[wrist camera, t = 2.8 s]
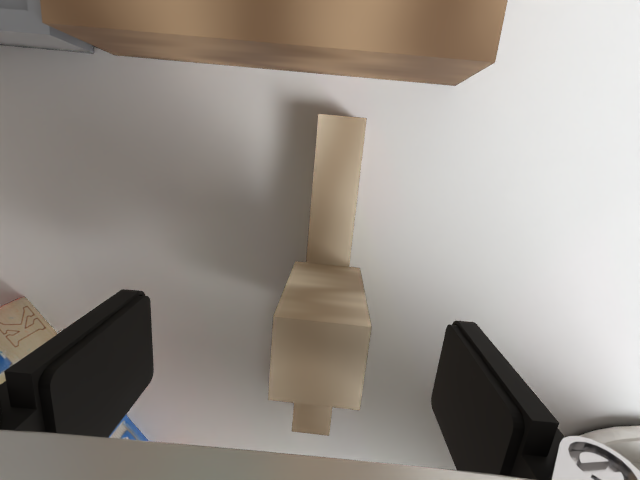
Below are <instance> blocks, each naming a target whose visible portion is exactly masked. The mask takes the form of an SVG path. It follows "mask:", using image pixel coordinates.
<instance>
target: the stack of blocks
mask: <svg viewBox="0 0 640 480" xmlns="http://www.w3.org/2000/svg"><path fill="white" fill-rule="evenodd" d="M56 335H57V333H56V332H55V331H54V329H53V328H52V327H51V326H50V325H49V324H48V322H47V321H46V320H45V319H44V318H43V317H42V315H41V314H40V313H39V312H38V311H37V310H36V308H35V307H34V306H33V305H32V304H31V303H30V301H29V300H28V299H27V298H26V297H21V298H19V299H16V300H14V301H12V302H10V303H7V304H5V305H3V306H1V307H0V384H2V383H3V382H5V381H6V379H5V374H4V371H5V370H7V369H8V368H9V367H11V366H12V365H14V364H15V363H17V362H18V361H19V360H21V359H22V358H24V357H25V356H27V355H28V354H30V353H31V352H32V351H34V350H35V349H37V348H38V347H40V346H41V345H43V344H44V343H45V342H47V341H48V340H50V339H51V338H53V337H54V336H56ZM108 438H117V439H129V440H140V441H148V440H147V439H146V437H145V436H144V435H143V434H142V433H141V432H140V431H139V429H138V428H137V427H136V426H135V425H134V424H133V423H132V421H131V420H130V419H129V418H128V417H127V415H125V416H124V418H123V419H122V420H121V422H120V423H119V424H118V426H117V427H116V428H115V429H114V431H113V432H112V433H111V435H110V436H109V437H108Z"/></svg>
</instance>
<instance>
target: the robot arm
mask: <svg viewBox="0 0 640 480" xmlns="http://www.w3.org/2000/svg"><path fill="white" fill-rule="evenodd" d="M153 370H154V369H153V348H152V328H151V307H150V299H149V297H148V296H145V294H144V292H143V291H135V290H124V289H123V290H120V291H119V292H118V293H116V294H115V295H113V296H112V297H110V298H109V299H107V300H106V301H105V302H103V303H102V304H100V305H99V306H97V307H96V308H95V309H93V310H92V311H90V312H89V313H87V314H86V315H84V316H83V317H82V318H80V319H79V320H77V321H76V322H74V323H73V324H71V325H70V326H69V327H67V328H66V329H64V330H63V331H61V332H60V333H58V334H57V335H56V336H54V337H53V338H51V339H50V340H48V341H47V342H45V343H44V344H43V345H41V346H40V347H38V348H37V349H35V350H34V351H32V352H31V353H30V354H28V355H27V356H25V357H24V358H22V359H21V360H19V361H18V362H17V363H15V364H14V365H12V366H11V367H9V368H8V369H7V370H5V371H4V374H5V379H6V381H5V382H3V383H2V384H0V480H640V426H620V427H611V428H605V429H600V430H595V431H591V432H588V433H585V434H582V435H579V436H568V437H564V436H563V434H562V433H561V432H560V431H559V429H558V425H559V422H558V421H557V420H556V419H555V417H554V416H553V415H552V414H551V413H550V411H549V410H548V409H547V408H546V407H545V405H544V404H543V403H542V402H541V401H540V399H539V398H538V397H537V396H536V395H535V394H534V392H533V391H532V390H531V389H530V388H529V386H528V385H527V384H526V383H525V382H524V380H523V379H522V378H521V377H520V376H519V374H518V373H517V372H516V371H515V370H514V368H513V367H512V366H511V365H510V364H509V362H508V361H507V360H506V359H505V358H504V357H503V355H502V354H501V353H500V352H499V351H498V349H497V348H496V347H495V346H494V345H493V343H492V342H491V341H490V340H489V339H488V337H487V336H486V335H485V334H484V333H483V331H482V330H481V329H480V328H479V327H478V325H477V324H476V323H474V322H464V321H454V322H453V324H452V325H448V326H447V328H446V332H445V337H444V342H443V346H442V351H441V355H440V360H439V365H438V369H437V374H436V378H435V383H434V388H433V392H432V398H431V403H432V409H433V411H434V414H435V416H436V419H437V421H438V424H439V426H440V429H441V431H442V434H443V436H444V439H445V441H446V444H447V446H448V449H449V451H450V454H451V456H452V459H453V461H454V464H455V466H456V469H457V470H449V469H439V468H429V467H419V466H409V465H399V464H389V463H379V462H368V461H358V460H347V459H337V458H326V457H316V456H305V455H294V454H284V453H273V452H263V451H252V450H240V449H229V448H218V447H207V446H196V445H185V444H174V443H163V442H152V441H140V440H129V439H117V438H108V437H109V436H110V435H111V433H112V432H113V431H114V429H115V428H116V427H117V426H118V424H119V423H120V422H121V420H122V419H123V418H124V416H125V415H126V414H127V412H128V411H129V410H130V408H131V407H132V406H133V404H134V403H135V402H136V400H137V399H138V398H139V396H140V395H141V394H142V392H143V391H144V390H145V388H146V387H147V386H148V384H149V383H150V381H151V379H152V376H153Z"/></svg>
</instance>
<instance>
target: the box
mask: <svg viewBox="0 0 640 480" xmlns="http://www.w3.org/2000/svg"><path fill="white" fill-rule="evenodd" d="M0 45H7V46H18V47H29V48H40V49H51V50H62V51H74V52H85V53H94V48H93V45H91V44H89V43H86V42H84V41H82V40H80V39H77V38H75V37H73V36H71V35H68V34H66V33H64V32H62V31H60V30H57V29H55V28H53V27H51V26H48V25H46V24H44V23H42V15H41V5H40V0H0Z"/></svg>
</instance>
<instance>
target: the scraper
mask: <svg viewBox="0 0 640 480" xmlns="http://www.w3.org/2000/svg"><path fill="white" fill-rule="evenodd" d="M366 119H367V118H359V117H348V116H337V115H326V114H318V125H317V137H316V149H315V161H314V173H313V185H312V196H311V208H310V220H309V232H308V244H307V256H306V262H297V261H295V263H294V266H293V268H292V271H291V273H290V276H289V278H288V281H287V283H286V286H285V288H284V291H283V293H282V296H281V298H280V301H279V303H278V306H277V308H276V311H275V313H274V316H273V326H272V343H271V359H270V375H269V392H268V400H273V401H282V402H291V403H294V410H293V422H292V431H293V432H302V433H310V434H319V435H327V436H329V432H330V423H331V415H332V407H335V408H344V409H352V410H360V404H361V397H362V390H363V383H364V376H365V369H366V362H367V355H368V348H369V341H370V334H371V322H370V317H369V312H368V307H367V302H366V297H365V291H364V286H363V281H362V276H361V271H360V268H356V267H349V263H350V254H351V246H352V237H353V229H354V220H355V212H356V204H357V195H358V187H359V178H360V170H361V161H362V153H363V144H364V136H365V127H366Z"/></svg>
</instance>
